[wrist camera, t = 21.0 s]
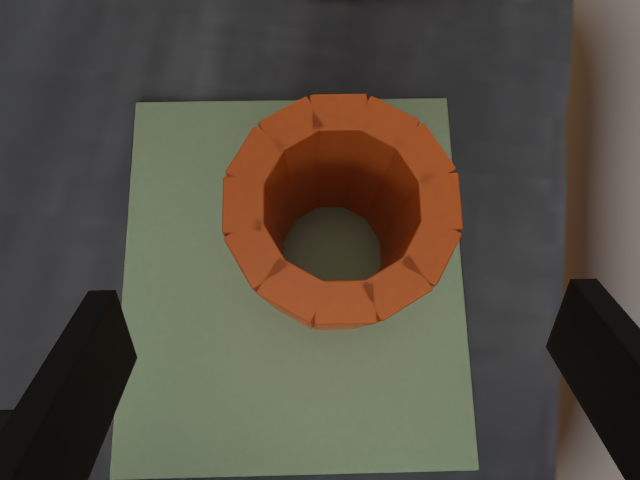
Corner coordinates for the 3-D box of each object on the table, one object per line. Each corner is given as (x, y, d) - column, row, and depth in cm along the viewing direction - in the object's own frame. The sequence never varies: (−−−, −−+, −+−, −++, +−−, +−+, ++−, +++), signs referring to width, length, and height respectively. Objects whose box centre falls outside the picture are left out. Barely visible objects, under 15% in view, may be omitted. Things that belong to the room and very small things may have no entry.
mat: (112, 477, 22) (109, 480, 22) (138, 105, 27) (135, 102, 26) (476, 468, 23) (479, 470, 22) (444, 101, 27) (446, 97, 27)
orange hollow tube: (256, 331, 24) (219, 326, 14) (257, 184, 25) (224, 95, 16) (410, 328, 24) (472, 321, 14) (401, 182, 25) (451, 91, 16)
